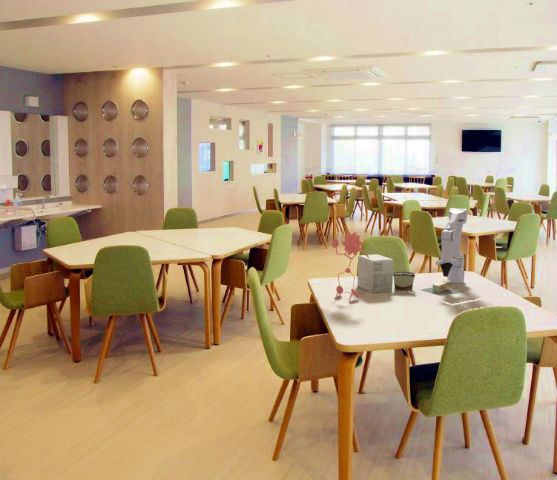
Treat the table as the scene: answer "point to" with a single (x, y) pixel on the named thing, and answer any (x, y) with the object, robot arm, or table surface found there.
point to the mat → (443, 293)
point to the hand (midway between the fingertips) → (445, 276)
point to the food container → (403, 280)
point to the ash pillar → (441, 286)
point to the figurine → (351, 246)
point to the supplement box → (375, 273)
